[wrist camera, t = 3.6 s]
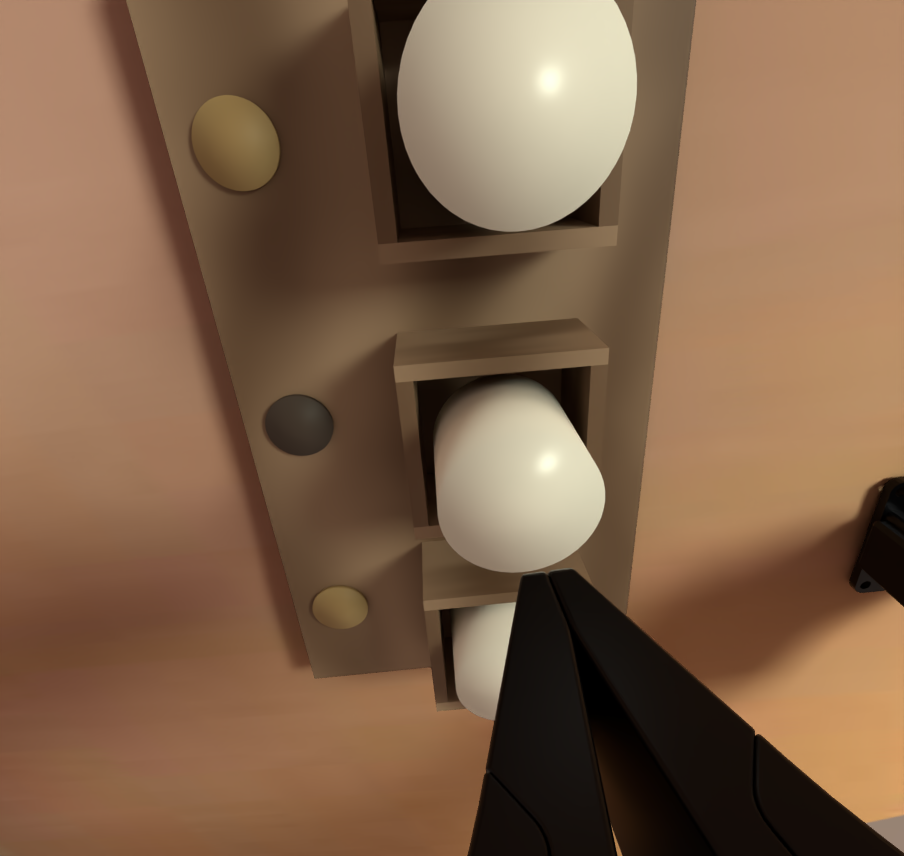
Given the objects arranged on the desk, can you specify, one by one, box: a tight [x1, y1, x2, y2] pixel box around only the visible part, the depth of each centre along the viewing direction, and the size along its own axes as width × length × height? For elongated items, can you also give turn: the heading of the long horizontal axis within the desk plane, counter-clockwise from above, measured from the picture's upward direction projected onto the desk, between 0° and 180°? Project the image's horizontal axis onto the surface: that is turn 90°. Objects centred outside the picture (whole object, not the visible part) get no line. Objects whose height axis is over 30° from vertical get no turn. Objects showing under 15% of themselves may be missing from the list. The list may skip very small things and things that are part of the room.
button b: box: [433, 374, 605, 573], centre depth 15 cm, size 4×4×4 cm
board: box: [126, 0, 696, 711], centre depth 18 cm, size 15×27×4 cm, turn 4°
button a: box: [450, 602, 516, 720], centre depth 21 cm, size 4×4×4 cm
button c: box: [397, 0, 637, 232], centre depth 11 cm, size 4×4×4 cm
